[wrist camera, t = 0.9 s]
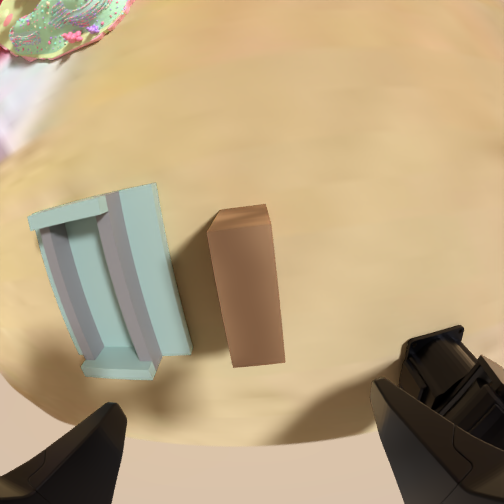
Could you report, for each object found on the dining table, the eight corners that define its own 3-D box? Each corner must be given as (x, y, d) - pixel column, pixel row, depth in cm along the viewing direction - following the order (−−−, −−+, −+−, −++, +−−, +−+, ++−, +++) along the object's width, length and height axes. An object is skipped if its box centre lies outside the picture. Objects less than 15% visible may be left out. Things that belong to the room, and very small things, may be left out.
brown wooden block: (265, 203, 19) (271, 224, 13) (277, 311, 22) (285, 362, 16) (220, 209, 19) (206, 232, 14) (237, 316, 22) (233, 367, 16)
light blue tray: (156, 182, 19) (133, 189, 15) (193, 347, 23) (183, 380, 19) (39, 211, 19) (7, 223, 15) (83, 348, 23) (64, 374, 19)
